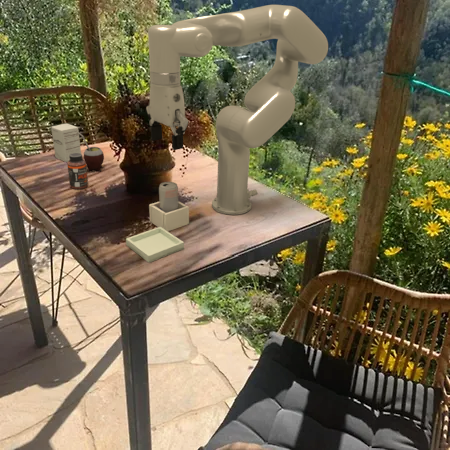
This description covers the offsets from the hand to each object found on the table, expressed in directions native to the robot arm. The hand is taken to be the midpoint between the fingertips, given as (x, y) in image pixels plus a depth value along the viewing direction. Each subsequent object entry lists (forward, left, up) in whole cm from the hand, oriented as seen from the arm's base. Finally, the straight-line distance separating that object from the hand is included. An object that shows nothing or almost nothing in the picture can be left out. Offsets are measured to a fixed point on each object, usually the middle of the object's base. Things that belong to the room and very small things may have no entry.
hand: (167, 144), depth 122 cm
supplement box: (0, -68, -24) cm, 72 cm away
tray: (+11, +9, -24) cm, 28 cm away
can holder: (0, 0, -24) cm, 24 cm away
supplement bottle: (+9, -40, -24) cm, 48 cm away
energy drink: (0, 0, -24) cm, 24 cm away
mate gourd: (-2, -51, -24) cm, 56 cm away
